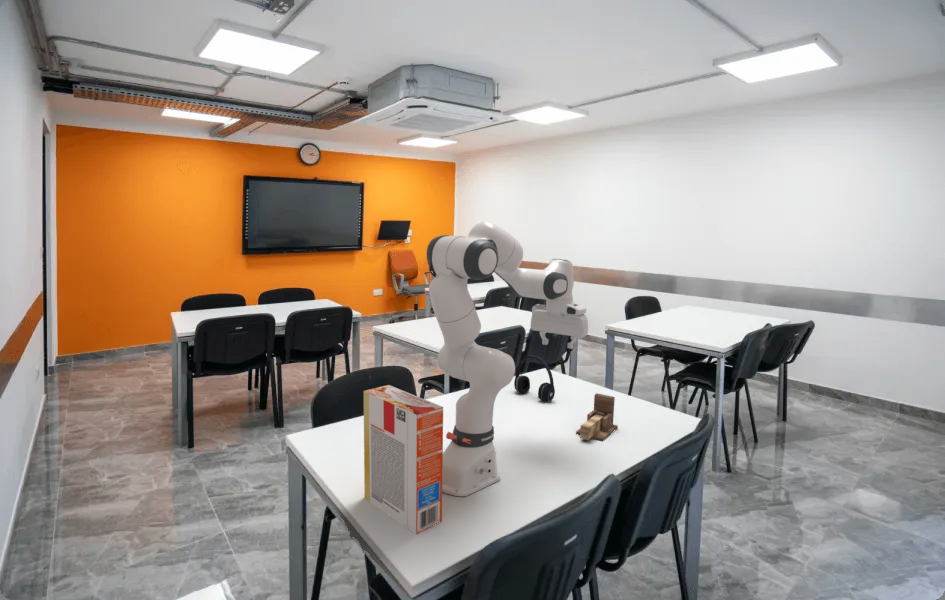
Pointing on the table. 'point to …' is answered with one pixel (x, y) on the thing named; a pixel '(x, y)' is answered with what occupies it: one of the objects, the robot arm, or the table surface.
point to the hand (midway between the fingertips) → (557, 346)
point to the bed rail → (591, 426)
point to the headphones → (523, 382)
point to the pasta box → (403, 456)
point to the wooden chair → (604, 406)
